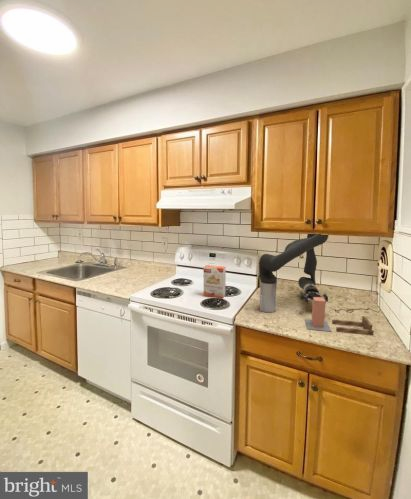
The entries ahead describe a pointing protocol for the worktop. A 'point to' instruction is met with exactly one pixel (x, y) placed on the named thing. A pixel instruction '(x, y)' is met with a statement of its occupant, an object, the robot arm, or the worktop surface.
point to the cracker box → (214, 281)
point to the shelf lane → (364, 324)
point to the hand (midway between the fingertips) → (315, 301)
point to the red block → (318, 312)
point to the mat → (310, 327)
